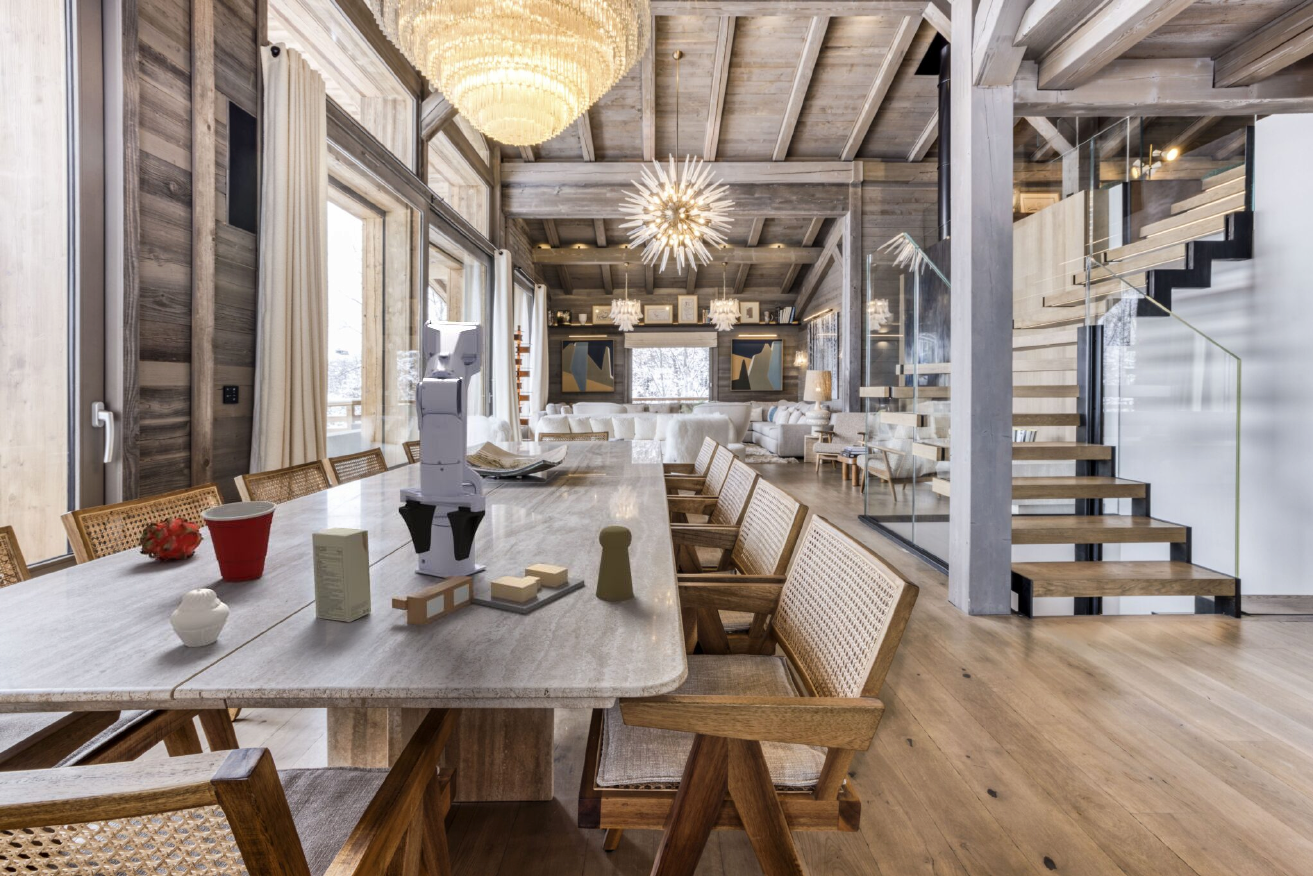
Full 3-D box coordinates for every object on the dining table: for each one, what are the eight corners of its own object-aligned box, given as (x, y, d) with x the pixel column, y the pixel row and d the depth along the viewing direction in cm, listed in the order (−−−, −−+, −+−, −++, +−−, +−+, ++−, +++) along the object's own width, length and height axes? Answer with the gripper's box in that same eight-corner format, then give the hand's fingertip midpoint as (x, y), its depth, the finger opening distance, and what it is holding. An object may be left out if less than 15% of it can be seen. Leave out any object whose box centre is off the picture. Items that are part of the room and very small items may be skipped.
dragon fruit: (137, 577, 113) (193, 568, 125) (175, 550, 112) (228, 544, 124) (115, 536, 114) (173, 531, 126) (152, 509, 113) (207, 507, 125)
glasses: (392, 622, 90) (391, 594, 90) (449, 597, 101) (448, 572, 101) (420, 628, 88) (419, 599, 88) (474, 602, 99) (474, 576, 99)
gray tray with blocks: (471, 602, 98) (471, 583, 98) (535, 576, 113) (535, 559, 113) (524, 613, 94) (524, 593, 94) (584, 584, 108) (584, 567, 108)
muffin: (164, 655, 78) (161, 598, 77) (178, 637, 83) (176, 583, 83) (225, 648, 80) (223, 592, 80) (234, 630, 86) (233, 578, 85)
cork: (628, 602, 100) (629, 532, 99) (590, 599, 101) (591, 529, 100) (637, 590, 106) (638, 524, 105) (601, 587, 107) (602, 522, 106)
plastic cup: (185, 585, 104) (182, 511, 103) (237, 566, 115) (235, 499, 114) (247, 589, 103) (244, 514, 102) (293, 570, 114) (291, 502, 113)
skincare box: (372, 613, 93) (371, 529, 92) (349, 623, 89) (347, 536, 88) (337, 607, 95) (335, 525, 94) (312, 617, 91) (310, 531, 90)
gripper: (382, 461, 92) (383, 555, 93) (460, 468, 86) (460, 569, 87) (420, 457, 99) (421, 545, 100) (495, 463, 92) (495, 557, 93)
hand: (442, 555), depth 94 cm, fingers open, 7 cm apart
